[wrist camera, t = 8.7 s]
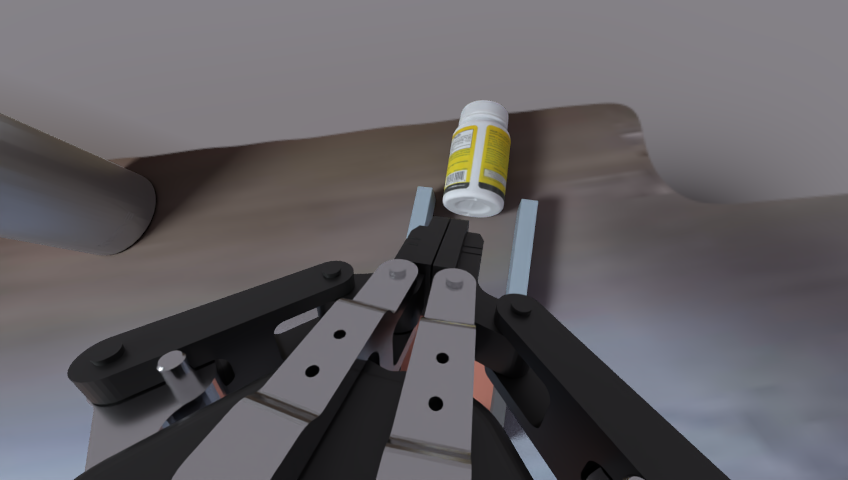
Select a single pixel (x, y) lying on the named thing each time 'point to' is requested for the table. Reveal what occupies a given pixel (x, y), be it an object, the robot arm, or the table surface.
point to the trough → (520, 242)
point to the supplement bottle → (478, 161)
